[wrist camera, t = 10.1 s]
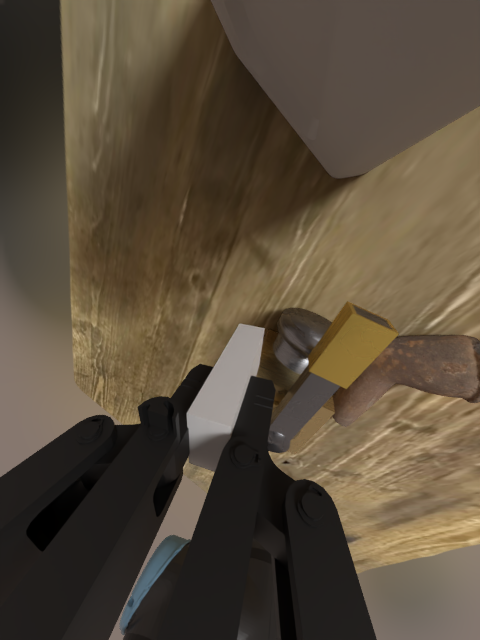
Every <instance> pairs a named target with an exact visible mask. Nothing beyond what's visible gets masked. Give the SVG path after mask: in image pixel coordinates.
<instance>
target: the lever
mask: <svg viewBox="0 0 480 640" xmlns="http://www.w3.org/2000/svg"><path fill="white" fill-rule="evenodd" d="M398 335H399V333H398V332H397V331H396V329H395V328H394V327H393V325H392V324H391V323H390V321H389V320H388V319H385V318H383V317H381V316H379V315H377V314H374V313H372V312H370V311H368V310H365V309H363V308H361V307H359V306H357V305H354V304H352V303H350V302H348V301H347V303H346V304H345V306H344V307H343V308H342V310H341V311H340V313H339V314H338V315H337V317H336V318H335V320H334V321H333V322H332V324H331V325H330V326H329V328H328V329H327V331H326V332H325V333H324V335H323V336H322V338H321V339H320V340H319V342H318V343H317V345H316V346H315V347H314V349H313V350H312V352H311V353H310V354H309V356H308V359H309V364H308V365H307V367H306V368H305V369H304V371H303V372H302V374H301V375H300V376H299V378H298V379H297V380H296V382H295V383H294V384H293V386H292V387H291V388H290V390H289V391H288V393H287V394H286V395H285V397H284V398H283V399H282V401H281V402H280V403H279V405H278V406H277V407H276V409H275V410H274V412H273V413H272V417H271V423H270V430H269V436H268V446H267V448H268V451H271V452H276V453H282V452H285V451H287V450H288V449H289V448H290V441H291V440H292V439H293V437H294V436H295V435H296V434H297V433H298V432H299V431H300V430H301V429H302V428H303V427H304V426H305V424H306V423H307V422H308V421H309V420H310V419H311V418H312V417H313V416H314V415H315V414H316V413H317V412H318V410H319V409H320V408H321V407H322V406H323V405H324V404H325V403H326V402H327V401H328V400H329V399H330V397H331V396H332V395H333V394H334V393H335V392H336V391H337V390H338V389H339V388H340V387H343V388H345V389H347V388H348V387H349V386H350V385H351V384H352V383H353V382H354V381H355V380H356V379H357V378H358V376H359V375H360V374H361V373H362V372H363V371H364V370H365V369H366V368H367V367H368V366H369V365H370V364H371V363H372V362H373V361H374V360H375V359H376V358H377V357H378V356H379V355H380V353H381V352H382V351H383V350H384V349H385V348H386V347H387V346H388V345H389V344H390V343H391V342H392V341H393V340H394V339H395V338H396V337H397V336H398Z"/></svg>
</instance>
